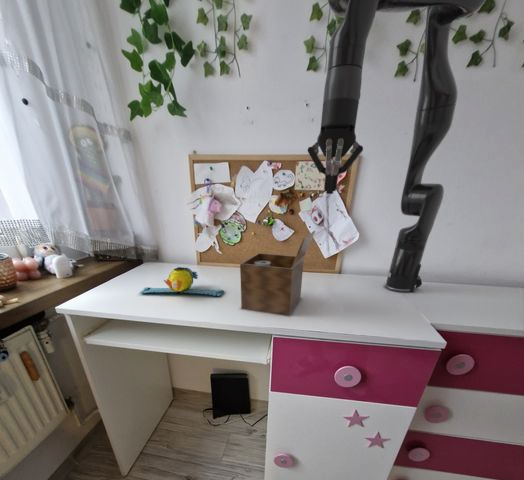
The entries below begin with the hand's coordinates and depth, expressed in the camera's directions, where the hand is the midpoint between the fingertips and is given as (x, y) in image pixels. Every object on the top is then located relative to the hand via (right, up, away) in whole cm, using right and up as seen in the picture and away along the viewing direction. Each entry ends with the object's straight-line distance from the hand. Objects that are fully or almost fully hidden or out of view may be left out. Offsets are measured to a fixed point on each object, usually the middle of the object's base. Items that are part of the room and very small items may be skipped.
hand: (329, 193), depth 67 cm
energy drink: (-17, -23, +21) cm, 35 cm away
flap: (-5, -10, +8) cm, 14 cm away
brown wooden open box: (-14, -24, +20) cm, 34 cm away
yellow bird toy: (-45, -19, +28) cm, 56 cm away
